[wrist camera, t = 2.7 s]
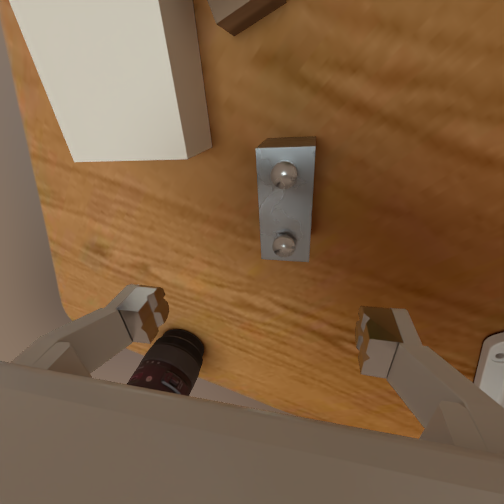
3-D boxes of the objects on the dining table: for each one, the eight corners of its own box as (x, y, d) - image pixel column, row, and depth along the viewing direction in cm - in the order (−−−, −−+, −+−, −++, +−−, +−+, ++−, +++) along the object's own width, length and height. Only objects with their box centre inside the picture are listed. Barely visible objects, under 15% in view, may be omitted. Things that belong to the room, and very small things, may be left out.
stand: (212, 147, 23) (187, 159, 19) (116, 150, 25) (74, 162, 21) (186, -49, 17) (140, -99, 12) (62, -22, 19) (-14, -56, 15)
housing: (310, 234, 25) (308, 267, 21) (270, 233, 26) (259, 264, 21) (316, 136, 21) (315, 148, 16) (267, 138, 22) (253, 150, 17)
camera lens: (154, 320, 38) (74, 431, 25) (206, 331, 36) (148, 454, 24) (162, 354, 42) (97, 465, 29) (209, 365, 41) (161, 485, 28)
